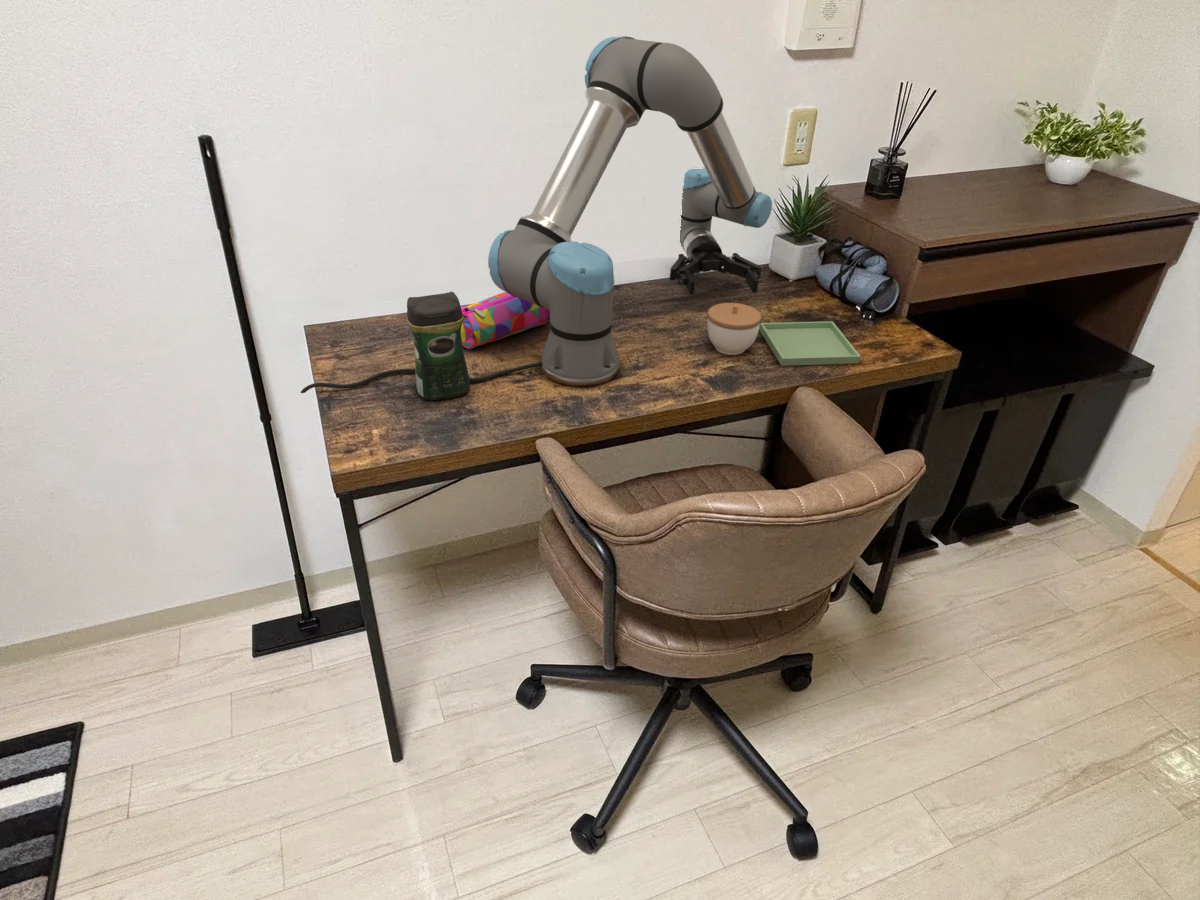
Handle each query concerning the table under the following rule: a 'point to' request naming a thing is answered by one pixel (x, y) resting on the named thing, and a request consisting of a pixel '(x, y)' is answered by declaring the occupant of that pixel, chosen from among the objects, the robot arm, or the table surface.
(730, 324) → the trinket box
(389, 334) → the table surface
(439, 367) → the coffee jar
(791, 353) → the tray
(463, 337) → the pencil case
